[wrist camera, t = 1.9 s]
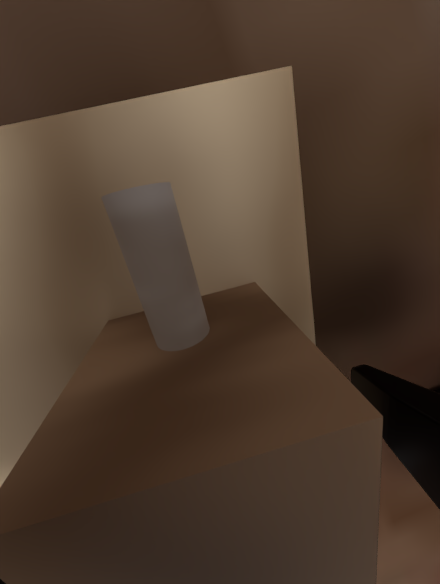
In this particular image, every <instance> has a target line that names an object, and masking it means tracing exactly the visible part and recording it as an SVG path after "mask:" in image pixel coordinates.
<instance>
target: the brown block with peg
mask: <svg viewBox="0 0 440 584" xmlns="http://www.w3.org/2000/svg"><path fill="white" fill-rule="evenodd" d="M101 198H102V201H103V203H104V206H105V209H106V211H107V214H108V217H109V219H110V222H111V225H112V227H113V230H114V233H115V235H116V238H117V241H118V243H119V246H120V249H121V251H122V254H123V257H124V259H125V262H126V264H127V267H128V270H129V272H130V275H131V278H132V280H133V283H134V286H135V288H136V291H137V294H138V296H139V299H140V302H141V304H142V307H143V310H144V311H142V312H139V313H135V314H131V315H127V316H123V317H120V318H116V319H112V320H108V322H107V323H106V325H105V326H104V328H103V329H102V331H101V332H100V334H99V336H98V337H97V339H96V340H95V342H94V343H93V345H92V346H91V348H90V349H89V351H88V353H87V354H86V356H85V357H84V359H83V360H82V362H81V363H80V365H79V366H78V368H77V370H76V371H75V373H74V374H73V376H72V377H71V379H70V380H69V382H68V384H67V385H66V387H65V388H64V390H63V391H62V393H61V394H60V396H59V397H58V399H57V401H56V402H55V404H54V405H53V407H52V408H51V410H50V411H49V413H48V414H47V416H46V418H45V419H44V421H43V422H42V424H41V425H40V427H39V428H38V430H37V431H36V433H35V435H34V436H33V438H32V439H31V441H30V442H29V444H28V445H27V447H26V449H25V450H24V452H23V453H22V455H21V456H20V458H19V459H18V461H17V462H16V464H15V466H14V467H13V469H12V470H11V472H10V473H9V475H8V476H7V478H6V479H5V481H4V483H3V484H2V486H1V487H0V579H1V580H2V581H3V582H5V583H6V584H376V575H377V551H378V526H379V502H380V478H381V454H382V429H383V416H382V415H381V414H380V413H379V411H378V410H377V409H376V408H375V407H374V406H373V405H372V404H371V403H370V402H369V401H368V400H367V399H366V398H365V397H364V396H363V395H362V394H361V393H360V392H359V391H358V389H357V388H356V387H355V386H354V385H353V384H352V383H351V382H350V381H349V380H348V379H347V378H346V377H345V376H344V375H343V374H342V373H341V372H340V371H339V370H338V368H337V367H336V366H335V365H334V364H333V363H332V362H331V361H330V360H329V359H328V358H327V357H326V356H325V355H324V354H323V353H322V352H321V351H320V350H319V349H318V348H317V346H316V345H315V344H314V343H313V342H312V341H311V340H310V339H309V338H308V337H307V336H306V335H305V334H304V333H303V332H302V331H301V330H300V329H299V328H298V327H297V325H296V324H295V323H294V322H293V321H292V320H291V319H290V318H289V317H288V316H287V315H286V314H285V313H284V312H283V311H282V310H281V309H280V308H279V307H278V306H277V305H276V303H275V302H274V301H273V300H272V299H271V298H270V297H269V296H268V295H267V294H266V293H265V292H264V291H263V290H262V289H261V288H260V287H259V286H258V285H257V284H256V282H253V283H249V284H245V285H241V286H238V287H234V288H230V289H226V290H222V291H219V292H215V293H211V294H207V295H203V296H201V294H200V290H199V287H198V283H197V279H196V276H195V272H194V268H193V265H192V261H191V257H190V254H189V250H188V246H187V242H186V239H185V235H184V231H183V228H182V224H181V220H180V217H179V213H178V209H177V206H176V202H175V198H174V195H173V191H172V187H171V183H170V182H162V183H154V184H148V185H143V186H138V187H133V188H129V189H124V190H120V191H117V192H113V193H110V194H107V195H105V196H103V197H101Z"/></svg>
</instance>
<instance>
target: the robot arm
mask: <svg viewBox="0 0 440 584" xmlns="http://www.w3.org/2000/svg"><path fill="white" fill-rule="evenodd" d="M351 383H352V384H353V385H354V386H355V387H356V388H357V389H358V391H359V392H360V393H361V394H362V395H363V396H364V397H365V398H366V399H367V400H368V401H369V402H370V403H371V404H372V405H373V406H374V407H375V408H376V409H377V410H378V411H379V413H380V414H381V415H382V416H383V429H382V437H383V439H384V440H385V442H386V443H387V444H388V446H389V447H390V448H391V450H392V451H393V452H394V453H395V455H396V456H397V457H398V458H399V460H400V461H401V462H402V463H403V465H404V466H405V467H406V468H407V470H408V471H409V472H410V473H411V475H412V476H413V477H414V478H415V480H416V481H417V482H418V483H419V484H420V486H421V487H422V488H423V489H424V491H425V492H426V493H427V494H428V496H429V497H430V498H431V499H432V501H433V502H434V503H435V504H436V506H437V507H438V508H439V509H440V390H438V391H435V392H434V391H432V390H429V389H427V388H424V387H421V386H419V385H416V384H414V383H411V382H409V381H406V380H404V379H401V378H399V377H396V376H393V375H391V374H388V373H386V372H383V371H381V370H378V369H376V368H373V367H371V366H368V365H360V366H356V367H353V368H352V370H351ZM0 584H6V583H5V582H3V581H2V580H1V579H0Z"/></svg>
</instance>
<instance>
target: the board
mask: <svg viewBox="0 0 440 584" xmlns="http://www.w3.org/2000/svg"><path fill="white" fill-rule="evenodd" d="M162 182H170V183H171V187H172V191H173V195H174V198H175V202H176V206H177V209H178V213H179V217H180V220H181V224H182V228H183V231H184V235H185V239H186V242H187V246H188V250H189V254H190V257H191V261H192V265H193V268H194V272H195V276H196V279H197V283H198V287H199V290H200V294H201V296H203V295H207V294H211V293H215V292H219V291H222V290H226V289H230V288H234V287H238V286H241V285H245V284H249V283H253V282H256V284H257V285H258V286H259V287H260V288H261V289H262V290H263V291H264V292H265V293H266V294H267V295H268V296H269V297H270V298H271V299H272V300H273V301H274V302H275V303H276V305H277V306H278V307H279V308H280V309H281V310H282V311H283V312H284V313H285V314H286V315H287V316H288V317H289V318H290V319H291V320H292V321H293V322H294V323H295V324H296V325H297V327H298V328H299V329H300V330H301V331H302V332H303V333H304V334H305V335H306V336H307V337H308V338H309V339H310V340H311V341H312V342H313V343H314V344H315V345H316V341H315V329H314V318H313V306H312V295H311V283H310V272H309V260H308V248H307V237H306V225H305V214H304V202H303V191H302V179H301V167H300V156H299V144H298V133H297V121H296V110H295V98H294V87H293V75H292V66H288V67H283V68H278V69H274V70H269V71H264V72H259V73H254V74H250V75H245V76H240V77H235V78H230V79H225V80H221V81H216V82H211V83H206V84H201V85H197V86H192V87H187V88H182V89H177V90H172V91H168V92H163V93H158V94H153V95H148V96H144V97H139V98H134V99H129V100H124V101H120V102H115V103H110V104H105V105H100V106H95V107H91V108H86V109H81V110H76V111H71V112H67V113H62V114H57V115H52V116H47V117H42V118H38V119H33V120H28V121H23V122H18V123H14V124H9V125H4V126H0V487H1V486H2V484H3V483H4V481H5V479H6V478H7V476H8V475H9V473H10V472H11V470H12V469H13V467H14V466H15V464H16V462H17V461H18V459H19V458H20V456H21V455H22V453H23V452H24V450H25V449H26V447H27V445H28V444H29V442H30V441H31V439H32V438H33V436H34V435H35V433H36V431H37V430H38V428H39V427H40V425H41V424H42V422H43V421H44V419H45V418H46V416H47V414H48V413H49V411H50V410H51V408H52V407H53V405H54V404H55V402H56V401H57V399H58V397H59V396H60V394H61V393H62V391H63V390H64V388H65V387H66V385H67V384H68V382H69V380H70V379H71V377H72V376H73V374H74V373H75V371H76V370H77V368H78V366H79V365H80V363H81V362H82V360H83V359H84V357H85V356H86V354H87V353H88V351H89V349H90V348H91V346H92V345H93V343H94V342H95V340H96V339H97V337H98V336H99V334H100V332H101V331H102V329H103V328H104V326H105V325H106V323H107V322H108V320H112V319H116V318H120V317H123V316H127V315H131V314H135V313H139V312H142V311H144V310H143V307H142V304H141V302H140V299H139V296H138V294H137V291H136V288H135V286H134V283H133V280H132V278H131V275H130V272H129V270H128V267H127V264H126V262H125V259H124V257H123V254H122V251H121V249H120V246H119V243H118V241H117V238H116V235H115V233H114V230H113V227H112V225H111V222H110V219H109V217H108V214H107V211H106V209H105V206H104V203H103V201H102V198H101V197H103V196H105V195H107V194H110V193H113V192H117V191H120V190H124V189H129V188H133V187H138V186H143V185H148V184H154V183H162Z"/></svg>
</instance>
